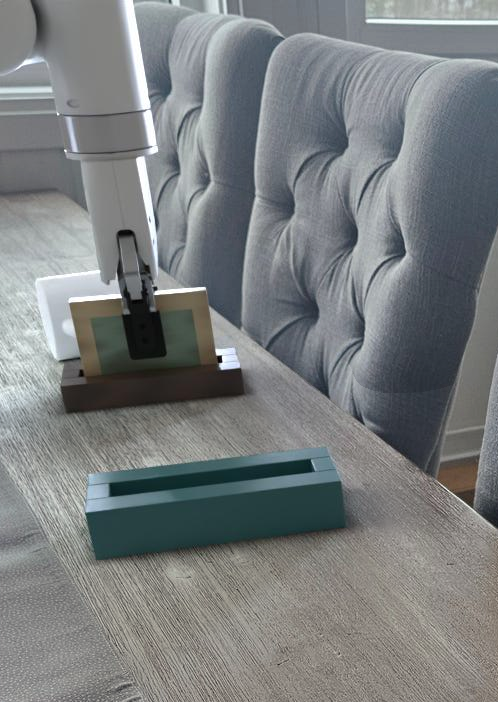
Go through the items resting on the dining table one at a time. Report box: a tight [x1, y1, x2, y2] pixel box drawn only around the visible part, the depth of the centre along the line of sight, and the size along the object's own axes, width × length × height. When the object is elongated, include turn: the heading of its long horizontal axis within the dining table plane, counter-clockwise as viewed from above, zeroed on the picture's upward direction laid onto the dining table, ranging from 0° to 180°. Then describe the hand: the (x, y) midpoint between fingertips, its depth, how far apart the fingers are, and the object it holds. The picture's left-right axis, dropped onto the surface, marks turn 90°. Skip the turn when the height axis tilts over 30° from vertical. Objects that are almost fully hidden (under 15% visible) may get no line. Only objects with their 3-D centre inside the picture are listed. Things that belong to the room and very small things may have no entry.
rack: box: [59, 346, 246, 414], centre depth 105 cm, size 16×7×2 cm, turn 105°
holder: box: [84, 445, 347, 561], centre depth 79 cm, size 17×7×4 cm, turn 105°
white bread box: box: [34, 270, 120, 361], centre depth 114 cm, size 12×10×8 cm
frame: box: [69, 286, 218, 377], centre depth 103 cm, size 12×1×9 cm, turn 105°
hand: (148, 343), depth 103 cm, fingers open, 8 cm apart
